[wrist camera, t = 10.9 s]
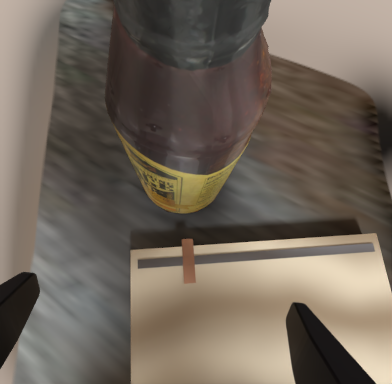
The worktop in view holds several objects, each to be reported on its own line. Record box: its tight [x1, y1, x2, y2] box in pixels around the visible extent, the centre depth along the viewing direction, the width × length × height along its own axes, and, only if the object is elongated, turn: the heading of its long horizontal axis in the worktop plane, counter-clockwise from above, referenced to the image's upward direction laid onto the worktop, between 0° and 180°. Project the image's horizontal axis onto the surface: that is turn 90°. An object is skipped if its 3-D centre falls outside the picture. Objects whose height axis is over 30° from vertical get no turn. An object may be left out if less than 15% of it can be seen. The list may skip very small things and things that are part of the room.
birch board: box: [131, 233, 392, 384], centre depth 19 cm, size 10×18×2 cm, turn 94°
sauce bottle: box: [105, 0, 272, 213], centre depth 12 cm, size 6×6×20 cm
